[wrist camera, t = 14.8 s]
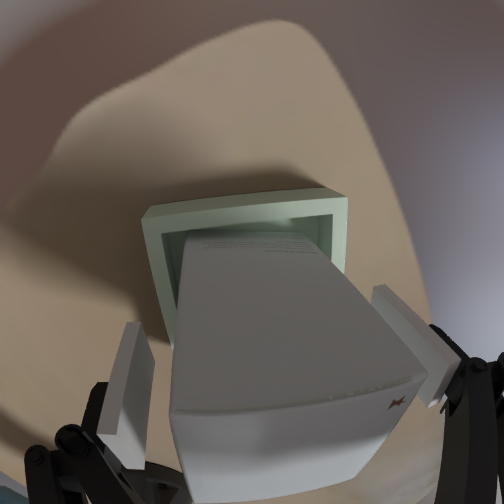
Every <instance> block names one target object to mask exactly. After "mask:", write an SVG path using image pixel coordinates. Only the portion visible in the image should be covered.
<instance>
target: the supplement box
mask: <svg viewBox="0 0 504 504" xmlns="http://www.w3.org/2000/svg"><path fill="white" fill-rule="evenodd" d="M427 376H428V371H427V370H426V368H425V367H424V366H423V365H422V364H421V362H420V361H419V360H418V359H417V357H416V356H415V355H414V354H413V353H412V351H411V350H410V349H409V348H408V347H407V345H406V344H405V343H404V342H403V341H402V340H401V339H400V337H399V336H398V335H397V334H396V332H395V331H394V330H393V329H392V328H391V327H390V325H389V324H388V323H387V322H386V321H385V320H384V319H383V318H382V316H381V315H380V314H379V313H378V312H377V311H376V310H375V309H374V307H373V306H372V305H371V304H370V303H369V302H368V301H367V300H366V299H365V297H364V296H363V295H362V294H361V293H360V292H359V291H358V290H357V288H356V287H355V286H354V285H353V284H352V283H351V282H350V281H349V280H348V279H347V278H346V276H345V275H344V274H343V273H342V272H341V271H340V270H339V269H338V268H337V267H336V266H335V265H334V264H333V263H332V262H331V261H330V260H329V258H328V257H327V256H326V255H325V254H324V253H323V252H322V251H321V250H320V249H319V248H318V247H317V246H316V245H315V244H314V243H313V242H312V241H311V240H310V239H309V238H308V237H307V236H306V234H305V233H298V232H267V231H226V230H189V231H188V232H187V234H186V240H185V247H184V253H183V261H182V268H181V276H180V285H179V295H178V305H177V315H176V325H175V335H174V347H173V360H172V374H171V392H170V405H169V421H170V426H171V432H172V436H173V440H174V444H175V448H176V451H177V455H178V459H179V462H180V466H181V469H182V472H183V475H184V479H185V482H186V485H187V488H188V491H189V493H190V496H191V498H192V501H193V502H194V503H229V502H242V501H252V500H260V499H268V498H274V497H280V496H286V495H291V494H296V493H301V492H305V491H310V490H314V489H318V488H322V487H326V486H329V485H333V484H336V483H340V482H343V481H346V480H349V479H352V478H354V477H355V476H356V475H357V474H358V473H359V472H360V471H361V470H362V469H363V467H364V466H365V465H366V464H367V462H368V461H369V460H370V459H371V458H372V456H373V455H374V454H375V453H376V451H377V450H378V449H379V448H380V446H381V445H382V444H383V442H384V441H385V440H386V439H387V438H388V436H389V435H390V433H391V432H392V430H393V429H394V427H395V426H396V425H397V423H398V422H399V420H400V419H401V417H402V416H403V414H404V413H405V411H406V410H407V408H408V407H409V405H410V404H411V402H412V401H413V399H414V398H415V396H416V394H417V392H418V391H419V389H420V387H421V386H422V384H423V383H424V381H425V380H426V378H427Z"/></svg>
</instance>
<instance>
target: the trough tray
mask: <svg viewBox="0 0 504 504" xmlns="http://www.w3.org/2000/svg"><path fill="white" fill-rule="evenodd" d="M347 205H348V197H347V196H344V195H342V194H340V193H338V192H336V191H334V190H332V189H329V188H327V187H322V188H307V189H293V190H281V191H269V192H258V193H248V194H238V195H229V196H220V197H211V198H203V199H195V200H187V201H180V202H173V203H166V204H159V205H152V206H150V207H149V209H148V210H147V211H146V213H145V214H144V216H143V217H142V218H141V223H142V228H143V233H144V239H145V244H146V248H147V253H148V258H149V262H150V267H151V271H152V276H153V280H154V284H155V288H156V292H157V296H158V300H159V304H160V308H161V312H162V315H163V319H164V323H165V326H166V330H167V333H168V337H169V340H170V344H171V347H172V350H173V347H174V335H175V325H176V315H177V305H178V295H179V285H180V276H181V268H182V261H183V253H184V247H185V240H186V234H187V232H188V231H189V230H226V231H267V232H298V233H305V234H306V236H307V237H308V238H309V239H310V240H311V241H312V242H313V243H314V244H315V245H316V246H317V247H318V248H319V249H320V250H321V251H322V252H323V253H324V254H325V255H326V256H327V257H328V258H329V260H330V261H331V262H332V263H333V264H334V265H335V266H336V267H337V268H338V269H339V270H340V271H341V272H342V273H343V274H344V267H345V252H346V234H347Z"/></svg>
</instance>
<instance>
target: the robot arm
mask: <svg viewBox="0 0 504 504" xmlns="http://www.w3.org/2000/svg"><path fill="white" fill-rule="evenodd" d="M371 305H372V306H373V307H374V309H375V310H376V311H377V312H378V313H379V314H380V315H381V316H382V318H383V319H384V320H385V321H386V322H387V323H388V324H389V325H390V327H391V328H392V329H393V330H394V331H395V332H396V334H397V335H398V336H399V337H400V339H401V340H402V341H403V342H404V343H405V344H406V345H407V347H408V348H409V349H410V350H411V351H412V353H413V354H414V355H415V356H416V357H417V359H418V360H419V361H420V362H421V364H422V365H423V366H424V367H425V368H426V370H427V371H428V376H427V378H426V380H425V381H424V383H423V384H422V386H421V387H420V389H419V391H418V392H417V394H418V395H419V397H420V398H421V400H422V401H423V402H424V404H425V405H426V407H427V408H429V407H431V406H433V405H435V404H437V403H438V402H440V400H441V399H442V397H443V395H444V393H445V395H446V396H447V397H448V398H447V400H446V402H445V403H444V405H443V407H442V408H441V410H440V414H442V412H443V411H444V409H445V427H444V441H443V451H442V460H441V468H440V475H439V481H438V487H437V492H436V498H435V502H434V504H495V503H496V492H497V477H498V476H499V482H500V489H501V496H502V504H504V397H503V392H504V352H502V353H501V354H500V356H499V357H498V359H497V361H493V362H488V363H486V361H484V360H483V359H481V358H477V357H472V358H469V357H468V355H467V354H466V353H465V352H464V351H463V350H462V349H461V348H460V347H459V346H458V345H457V344H456V343H455V342H454V341H452V339H450V337H449V336H447V334H446V333H444V331H443V330H441V329H440V328H438V327H437V326H435V325H433V324H431V325H427V324H426V323H425V322H424V321H423V320H422V319H421V318H420V317H419V316H418V315H417V314H416V313H415V312H414V311H413V310H412V309H411V308H410V307H409V306H408V305H407V304H406V303H405V302H404V301H402V300H401V299H400V298H399V297H398V296H397V295H396V294H395V293H394V292H393V291H392V290H391V289H390V288H389V287H387V286H386V285H385V284H384V285H379V286H374V287H373V294H372V300H371ZM154 366H155V360H154V357H153V355H152V352H151V349H150V346H149V343H148V341H147V338H146V335H145V332H144V329H143V326H142V322H141V321H136V322H127V323H126V326H125V329H124V332H123V336H122V339H121V342H120V345H119V348H118V352H117V355H116V358H115V362H114V365H113V369H112V372H111V376H110V380H109V382H97V384H96V385H95V386H94V387H93V389H92V390H91V392H90V396H89V399H88V400H89V402H88V403H87V406H86V409H85V413H84V417H83V420H82V424H81V427H80V426H78V425H76V424H69V425H65V426H63V427H62V428H60V429H59V430H58V432H57V433H56V436H55V445H56V446H57V447H58V448H59V449H60V450H54V451H49V450H48V449H47V448H46V447H44V446H42V445H34V446H31V447H30V448H29V449H28V450H27V451H26V453H25V457H24V464H25V474H26V483H27V491H28V497H29V498H27V497H25V496H23V495H21V494H19V493H17V492H15V491H14V490H12V489H10V488H8V487H6V486H1V485H0V504H88V500H87V497H86V495H87V496H88V498H89V500H90V502H91V503H92V504H192V498H191V496H190V493H189V491H188V488H187V485H186V482H185V479H184V475H183V474H181V473H179V472H177V471H175V470H172V469H169V468H166V467H162V466H159V465H155V464H150V463H145V451H146V438H147V426H148V416H149V406H150V397H151V389H152V381H153V373H154ZM85 493H86V494H85Z"/></svg>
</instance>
